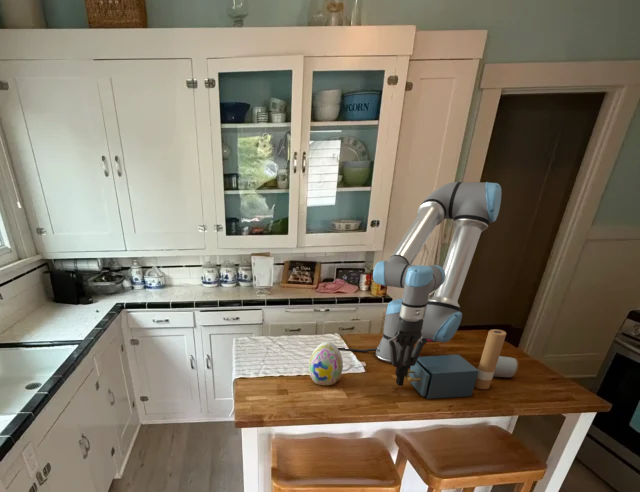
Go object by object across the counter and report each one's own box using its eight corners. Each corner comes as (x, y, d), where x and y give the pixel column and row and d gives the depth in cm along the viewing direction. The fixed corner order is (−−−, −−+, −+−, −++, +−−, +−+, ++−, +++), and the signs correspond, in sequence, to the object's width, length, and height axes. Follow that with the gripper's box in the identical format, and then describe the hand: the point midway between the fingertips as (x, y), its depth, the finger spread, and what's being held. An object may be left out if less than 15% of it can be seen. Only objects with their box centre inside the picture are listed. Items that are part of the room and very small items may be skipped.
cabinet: (427, 399, 145) (433, 373, 139) (411, 381, 156) (416, 356, 151) (471, 396, 146) (479, 370, 140) (452, 378, 157) (458, 354, 152)
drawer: (409, 397, 144) (413, 376, 140) (396, 380, 155) (399, 360, 150) (462, 393, 146) (468, 372, 141) (446, 377, 156) (451, 357, 152)
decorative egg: (304, 385, 155) (306, 347, 147) (312, 371, 164) (314, 334, 156) (337, 390, 151) (341, 351, 143) (344, 376, 161) (347, 338, 152)
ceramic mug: (514, 381, 154) (521, 361, 150) (490, 379, 155) (496, 360, 151) (506, 369, 163) (512, 350, 159) (483, 367, 164) (488, 349, 160)
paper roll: (470, 385, 152) (486, 331, 141) (477, 381, 155) (493, 327, 144) (485, 390, 149) (502, 335, 138) (492, 385, 152) (509, 331, 140)
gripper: (395, 322, 132) (384, 390, 145) (436, 320, 133) (421, 387, 146) (387, 315, 138) (377, 380, 151) (426, 313, 139) (413, 378, 152)
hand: (399, 383), depth 148 cm, fingers closed
